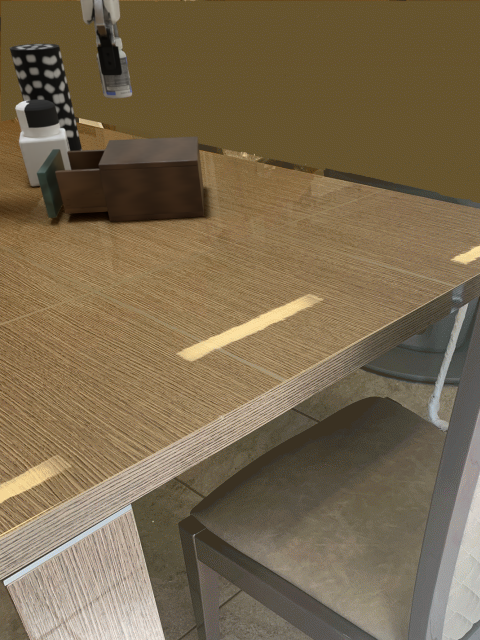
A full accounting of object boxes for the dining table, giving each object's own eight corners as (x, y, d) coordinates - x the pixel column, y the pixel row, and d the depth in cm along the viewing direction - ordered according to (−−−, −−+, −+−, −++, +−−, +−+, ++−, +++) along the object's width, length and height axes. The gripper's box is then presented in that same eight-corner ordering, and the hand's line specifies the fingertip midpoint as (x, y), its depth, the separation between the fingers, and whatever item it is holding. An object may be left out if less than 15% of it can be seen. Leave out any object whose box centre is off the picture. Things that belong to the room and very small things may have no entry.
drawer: (40, 218, 99) (27, 173, 95) (55, 191, 110) (45, 149, 105) (137, 213, 101) (129, 168, 97) (143, 187, 111) (136, 145, 107)
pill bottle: (138, 95, 109) (129, 38, 104) (115, 100, 106) (105, 41, 101) (120, 92, 111) (111, 36, 106) (97, 96, 108) (87, 38, 103)
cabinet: (110, 221, 100) (98, 164, 95) (119, 192, 112) (109, 140, 107) (204, 216, 102) (197, 160, 97) (203, 188, 113) (197, 136, 108)
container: (74, 171, 122) (57, 95, 114) (76, 182, 116) (57, 104, 108) (31, 175, 120) (11, 98, 112) (30, 187, 114) (8, 107, 106)
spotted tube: (45, 159, 129) (16, 44, 117) (88, 157, 129) (63, 43, 117) (36, 171, 122) (3, 50, 110) (80, 169, 123) (53, 49, 111)
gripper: (73, -67, 101) (96, 64, 112) (55, -68, 88) (83, 81, 99) (121, -66, 102) (140, 64, 113) (111, -67, 89) (133, 80, 100)
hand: (113, 70), depth 106 cm, fingers closed on pill bottle, 4 cm apart
